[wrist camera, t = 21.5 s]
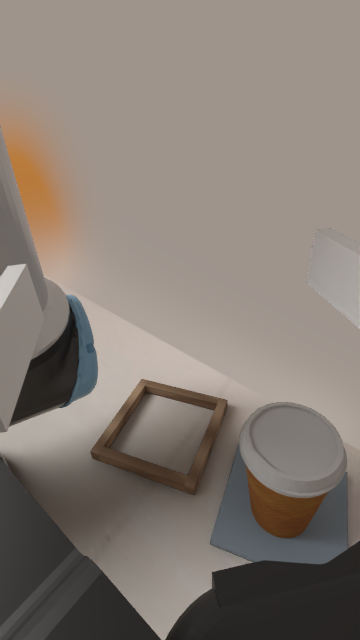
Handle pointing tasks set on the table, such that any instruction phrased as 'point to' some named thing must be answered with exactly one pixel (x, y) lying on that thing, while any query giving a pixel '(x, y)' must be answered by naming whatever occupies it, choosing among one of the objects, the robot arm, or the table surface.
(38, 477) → the table surface
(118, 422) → the cup holder frame
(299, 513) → the disposable coffee cup
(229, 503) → the rubber mat
